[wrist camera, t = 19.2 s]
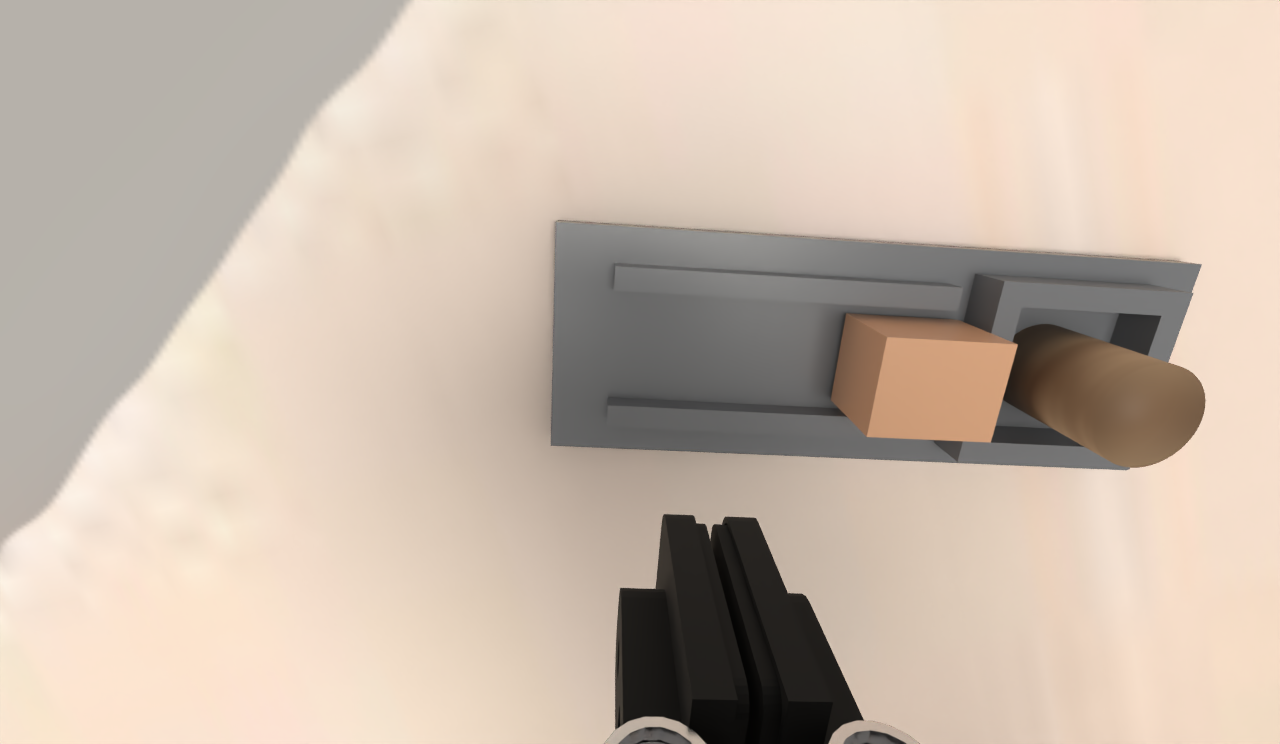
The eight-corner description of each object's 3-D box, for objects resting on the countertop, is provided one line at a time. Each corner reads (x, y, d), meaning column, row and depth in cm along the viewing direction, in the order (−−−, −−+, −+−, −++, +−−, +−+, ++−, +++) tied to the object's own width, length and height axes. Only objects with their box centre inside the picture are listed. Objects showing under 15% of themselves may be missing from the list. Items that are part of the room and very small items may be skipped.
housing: (1110, 460, 30) (1163, 490, 27) (552, 436, 28) (546, 465, 25) (1180, 261, 27) (1248, 271, 24) (557, 220, 25) (550, 225, 22)
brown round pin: (1064, 409, 28) (1181, 469, 22) (982, 405, 27) (1079, 465, 22) (1090, 326, 26) (1222, 367, 21) (1005, 321, 26) (1114, 361, 20)
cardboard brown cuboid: (937, 405, 27) (990, 442, 23) (830, 400, 27) (866, 437, 23) (958, 319, 26) (1018, 344, 22) (846, 313, 25) (887, 337, 22)
